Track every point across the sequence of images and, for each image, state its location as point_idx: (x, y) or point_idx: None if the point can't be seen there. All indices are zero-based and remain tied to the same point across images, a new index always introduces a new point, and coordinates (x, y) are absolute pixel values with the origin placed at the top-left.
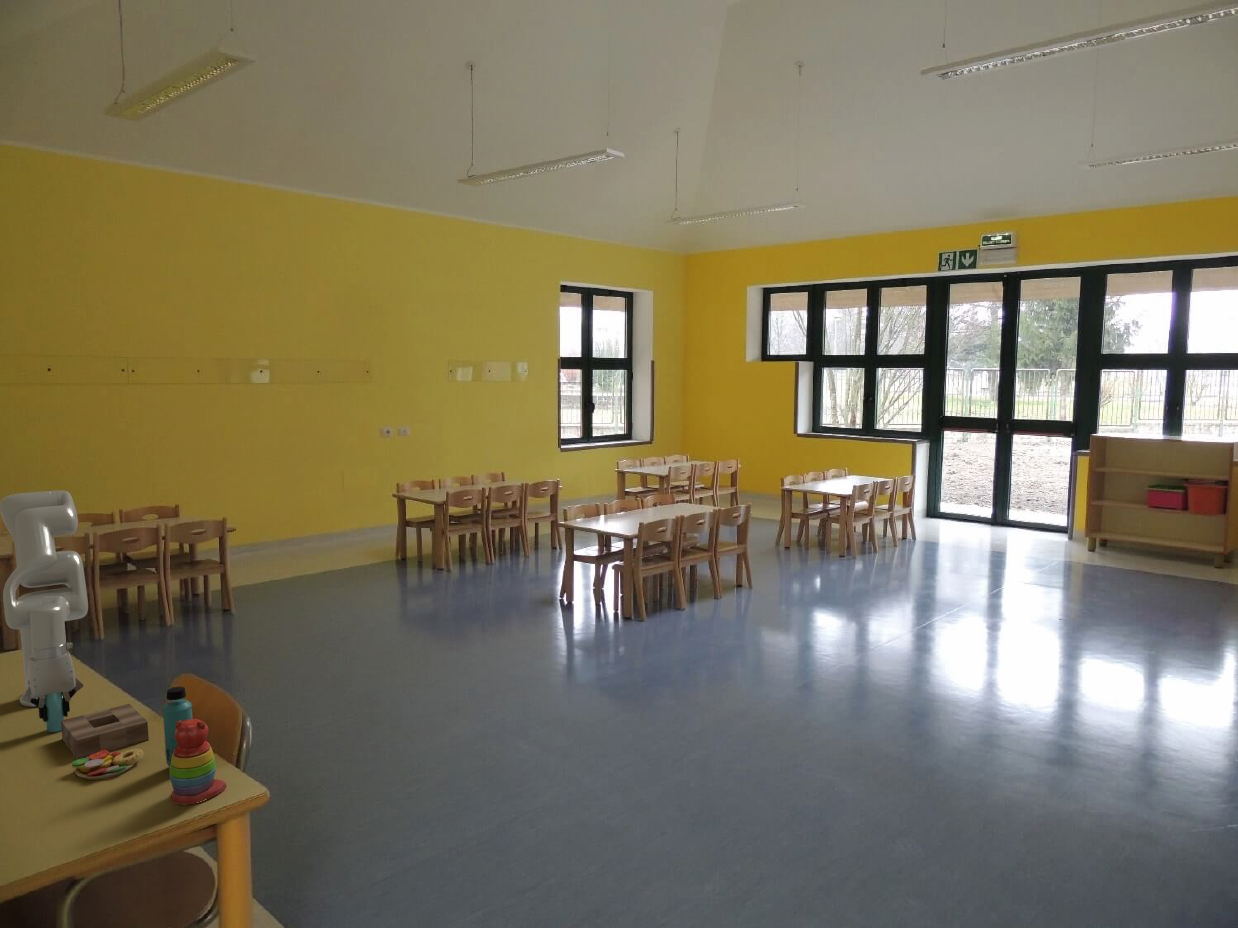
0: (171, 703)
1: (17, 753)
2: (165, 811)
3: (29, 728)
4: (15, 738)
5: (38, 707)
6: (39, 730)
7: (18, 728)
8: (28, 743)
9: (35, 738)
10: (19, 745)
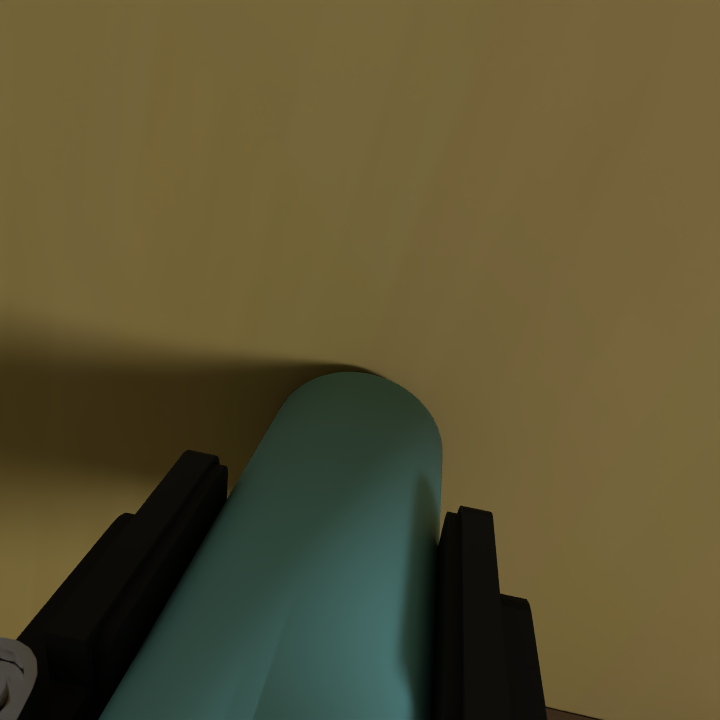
0: None
1: (12, 624)
2: None
3: (163, 144)
4: (12, 325)
5: (23, 634)
6: (234, 310)
7: (57, 16)
8: (96, 527)
9: (160, 476)
10: (33, 508)
